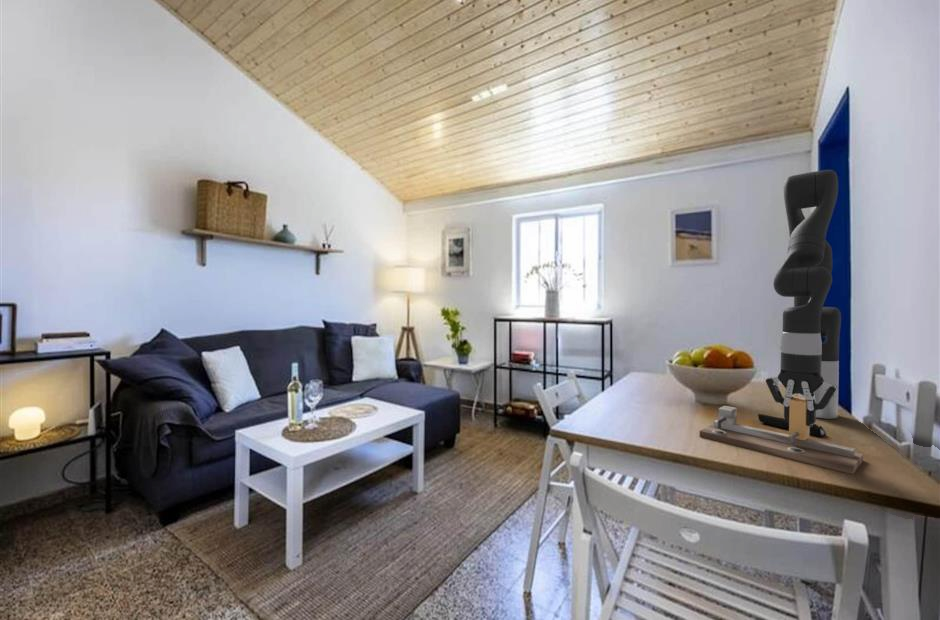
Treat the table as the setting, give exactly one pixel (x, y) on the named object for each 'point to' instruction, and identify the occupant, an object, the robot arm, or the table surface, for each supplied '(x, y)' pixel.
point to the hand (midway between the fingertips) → (799, 423)
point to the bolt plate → (781, 443)
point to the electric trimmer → (785, 425)
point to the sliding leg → (798, 420)
